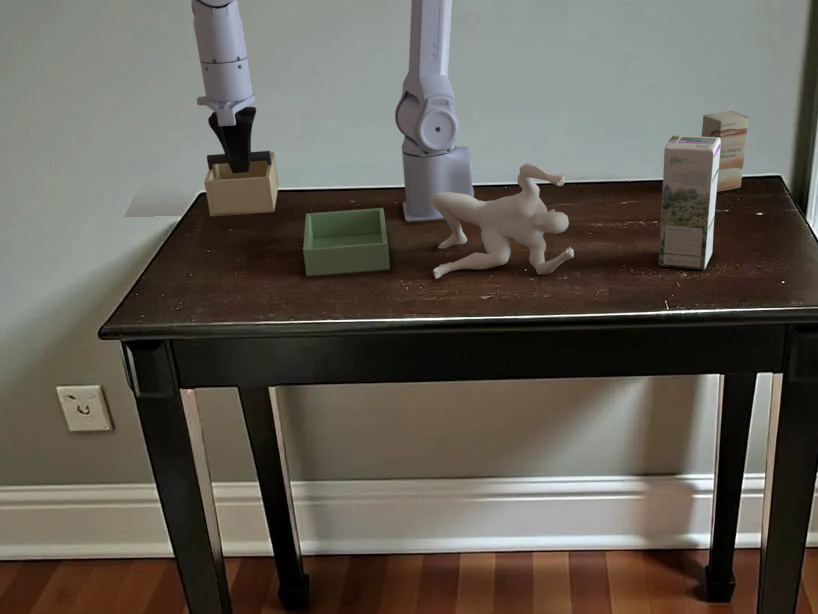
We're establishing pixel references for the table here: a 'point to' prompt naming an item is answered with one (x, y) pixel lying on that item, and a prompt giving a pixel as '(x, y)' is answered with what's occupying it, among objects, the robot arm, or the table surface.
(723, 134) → the makeup remover box
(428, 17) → the robot arm
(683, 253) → the syrup box
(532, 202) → the person figurine
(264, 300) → the table surface
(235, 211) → the cream bin
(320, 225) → the sage bin
